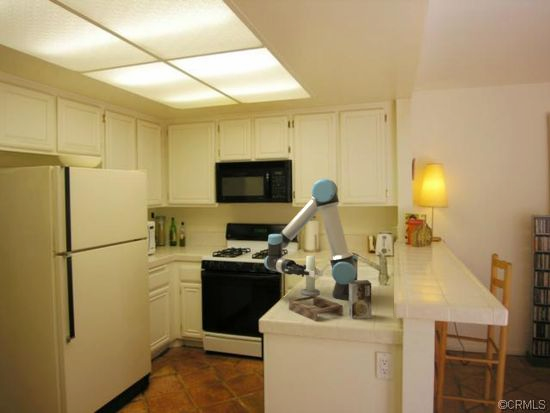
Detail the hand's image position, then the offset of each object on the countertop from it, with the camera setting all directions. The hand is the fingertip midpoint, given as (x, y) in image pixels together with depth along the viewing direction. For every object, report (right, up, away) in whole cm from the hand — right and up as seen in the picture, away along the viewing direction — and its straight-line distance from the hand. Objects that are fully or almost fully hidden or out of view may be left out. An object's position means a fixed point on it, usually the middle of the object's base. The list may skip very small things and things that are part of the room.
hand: (318, 273), depth 181 cm
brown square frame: (-1, -18, +2) cm, 19 cm away
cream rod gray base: (-3, -10, +5) cm, 12 cm away
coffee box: (+18, -19, -5) cm, 27 cm away
